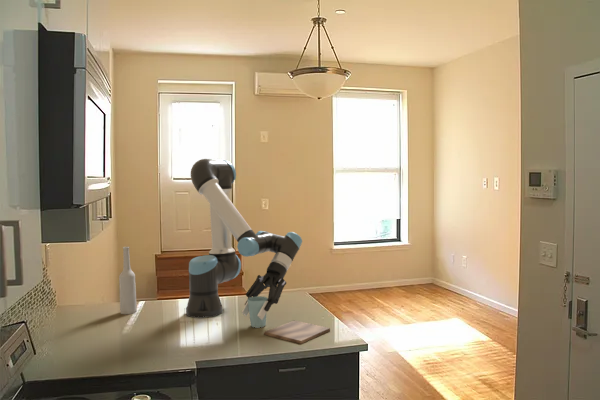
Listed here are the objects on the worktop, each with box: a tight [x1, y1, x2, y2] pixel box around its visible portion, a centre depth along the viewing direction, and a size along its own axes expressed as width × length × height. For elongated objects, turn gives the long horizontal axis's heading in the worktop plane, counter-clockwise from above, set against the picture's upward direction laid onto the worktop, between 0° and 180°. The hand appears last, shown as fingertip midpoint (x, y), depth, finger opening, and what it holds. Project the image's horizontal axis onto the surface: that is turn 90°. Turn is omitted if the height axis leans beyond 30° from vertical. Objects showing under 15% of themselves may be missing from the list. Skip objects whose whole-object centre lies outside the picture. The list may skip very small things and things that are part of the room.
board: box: [263, 320, 331, 345], centre depth 179 cm, size 17×17×1 cm
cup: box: [247, 295, 268, 329], centre depth 188 cm, size 8×8×10 cm
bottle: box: [118, 246, 138, 315], centre depth 210 cm, size 7×7×28 cm
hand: (251, 315), depth 185 cm, fingers closed on cup, 8 cm apart
